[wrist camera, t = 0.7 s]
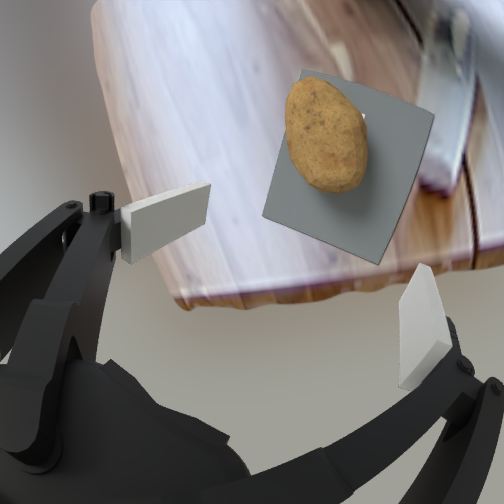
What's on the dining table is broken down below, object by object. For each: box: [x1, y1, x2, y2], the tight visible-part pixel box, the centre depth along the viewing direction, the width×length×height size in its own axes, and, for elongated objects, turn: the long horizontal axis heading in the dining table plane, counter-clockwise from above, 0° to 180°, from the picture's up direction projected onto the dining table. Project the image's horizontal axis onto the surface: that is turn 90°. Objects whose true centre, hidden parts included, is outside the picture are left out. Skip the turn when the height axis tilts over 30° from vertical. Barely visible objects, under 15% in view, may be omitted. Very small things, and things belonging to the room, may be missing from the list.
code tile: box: [262, 69, 434, 264], centre depth 33 cm, size 22×18×1 cm
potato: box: [285, 76, 368, 194], centre depth 29 cm, size 10×14×8 cm
